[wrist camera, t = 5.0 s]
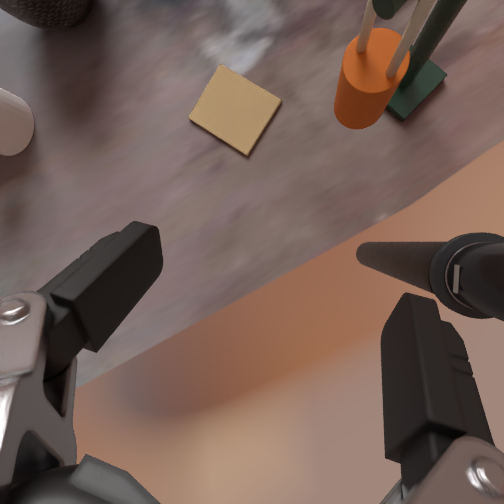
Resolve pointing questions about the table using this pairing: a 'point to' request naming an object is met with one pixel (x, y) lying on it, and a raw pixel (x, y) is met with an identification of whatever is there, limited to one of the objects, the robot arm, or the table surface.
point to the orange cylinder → (374, 68)
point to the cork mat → (234, 109)
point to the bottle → (14, 124)
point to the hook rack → (419, 54)
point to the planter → (48, 12)
